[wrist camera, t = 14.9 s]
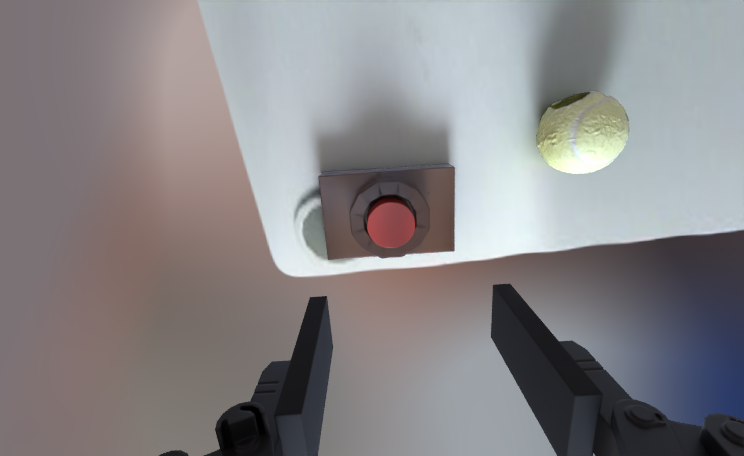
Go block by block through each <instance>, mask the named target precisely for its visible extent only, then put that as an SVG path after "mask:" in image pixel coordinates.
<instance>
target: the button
mask: <svg viewBox="0 0 744 456" xmlns="http://www.w3.org/2000/svg"><path fill="white" fill-rule="evenodd" d="M367 230H368V233H369V236H370V237H371V239H372V240H373V241H374V242H375V243H376V244H378V245H380V246H382V247H385V248H396V247H399V246H402V245H404V244H405V243H407V242H408V241H409V240H410V238H411V237H412V235H413V233H414V230H415V219H414V216H413V214H412V211H411V209H410V208H409V206H408V205H407V204H406V203H405V202H404V201H402V200H400V199H397V198H392V197H391V198H384V199H381V200H379V201H377V202H376V203H375V204H373V206H372V207H371V208H370V210H369V212H368V215H367Z"/></svg>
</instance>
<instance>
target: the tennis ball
mask: <svg viewBox="0 0 744 456" xmlns="http://www.w3.org/2000/svg"><path fill="white" fill-rule="evenodd" d="M628 134H629V120H628V116H627V114H626V112H625V109H624V107H623V106H622V105H621V104H620V103H619V102H618V101H617V100H616V99H615V98H613V97H611V96H606V95H604V94H603V93H601V92H599V91H589V92H584V93H580V94H575V95H573V96H570V97H567V98H565V99H562V100H559V101H556V102H554V103H553V104H551V106H550V107H548V109H547V111H546V112H545V114H544V115H543V116H542V118H541V121H540V124H539V127H538V131H537V135H536V137H537V138H536V143H537V147H538V149H539V152H540V154H541V155H542V157H543V158H544V159H545V161H546V162H547V163H548V164H549V165H550V166H552V167H554V168H556V169H558V170H560V171H563V172H567V173H574V174H578V173H591V172H594V171H597V170H599V169H602V168H604V167H605V166H607V165H609V164H610V163H611V162H612V161H613V160H615V159H616V157H617V155H618V154H619V153H620V152H621V151H622V150H623V148H624V146H625V144H626V142H627V139H628Z"/></svg>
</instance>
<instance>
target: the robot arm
mask: <svg viewBox="0 0 744 456" xmlns="http://www.w3.org/2000/svg"><path fill="white" fill-rule="evenodd" d="M491 338H492V340H493V341H494V343H495V345H496V347H497V349H498V350H499V352H500V354H501V355H502V357H503V359H504V361H505V363H506V365H507V366H508V368H509V370H510V372H511V374H512V375H513V377H514V379H515V381H516V383H517V384H518V386H519V388H520V390H521V391H522V393H523V395H524V397H525V399H526V400H527V402H528V404H529V406H530V407H531V409H532V411H533V413H534V415H535V417H536V418H537V420H538V422H539V424H540V425H541V427H542V429H543V431H544V433H545V434H546V436H547V438H548V440H549V442H550V443H551V445H552V447H553V449H554V451H555V452H556V454H557V456H593V453H594V454H595V456H744V420H741V419H739V418H736V417H733V416H730V415H723V414H710V415H708V416H707V417H706V418H704V422H703V425H702V426H696V425H690V424H685V423H679V422H674V421H670V420H668V419H667V417H666V416H665V415H664V414H663V413H661V412H660V411H659V410H658V409H656V408H655V407H652V406H651V405H649V404H647V403H644V402H641V401H638V400H633V399H632V398H631V397H630V396H629V395H628V394H627V393H626V392H625V391H624V389H623V388H622V387H621V386H620V385H619V384H618V383H617V382H616V381H615V380H614V379H613V378H612V377H611V376H610V375H609V373H608V372H607V371H606V370H604V369H603V367H602V366H601V365H600V364H599V363H598V362H597V361H596V360H595V358H594V357H593V356H592V355H591V354H590V353H589V352H588V351H587V350H586V349H585V348H583V347H582V346H580V345H578V344H577V343H575V342H573V341H558V340H557V339H556V338H555V336H554V335H553V334H552V333H551V332H550V330H549V329H548V328H547V327H546V326H545V325H544V323H543V322H542V321H541V320H540V319H539V318H538V316H537V315H536V314H535V313H534V312H533V310H532V309H531V308H530V307H529V306H528V304H527V303H526V302H525V301H524V300H523V299H522V297H521V296H520V295H519V294H518V293H517V291H516V290H515V289H514V288H513V287H512V285H510V284H499V285H493V301H492V324H491ZM332 350H333V344H332V335H331V326H330V319H329V311H328V301H327V296H322V297H310V299H309V303H308V306H307V309H306V312H305V316H304V319H303V322H302V325H301V329H300V332H299V335H298V339H297V342H296V345H295V348H294V352H293V355H292V358H291V360H290V361H277V362H276V361H275V362H271V363H270V364H269V365H268V366H267V368H265V370H264V371H263V372H262V374H261V377H260V379H259V382H258V385H257V386H256V389H255V392H254V394H253V396H252V399H251V401H250V402H244V403H240V404H237V405H236V406H233V407H231V408H230V409H228V411H226V412H225V413H223V414H222V416H221V417H220V419H219V420H218V421H217V424H216V428H215V431H216V435H217V438H218V442H219V446H220V449H219V450H217V451H215V452H212V453H210V454H207V455H204V456H318V450H319V443H320V435H321V428H322V421H323V414H324V407H325V400H326V393H327V386H328V379H329V372H330V364H331V358H332ZM159 456H188V454H187V453H185V452H183V451H170V452H166V453H163V454H161V455H159Z"/></svg>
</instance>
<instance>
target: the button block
mask: <svg viewBox="0 0 744 456" xmlns="http://www.w3.org/2000/svg"><path fill="white" fill-rule="evenodd" d="M318 178H319V186H320V195H321V204H322V212H323V221H324V230H325V238H326V247H327V255H328V260H334V259H349V258H363V257H377V256H378V257H380V258H395V257H402V256H405V255H406V254H421V253H435V252H449V251H454V207H455V167H454V166H452V165H451V164H449V163H448V164H434V165H420V166H406V167H392V168H377V169H363V170H349V171H335V172H322V173H321V174H320V175H319V177H318ZM391 197H392V198H397V199H400V200H402V201H404V202H405V203H406V204H407V205H408V206H409V208H410V209H411V211H412V214H413V216H414V219H415V230H414V233H413V235H412V237H411V238H410V240H409V241H408V242H407V243H405V244H404V245H402V246H399V247H396V248H385V247H382V246H380V245H378V244H376V243H375V242H374V241H373V240H372V239H371V237H370V236H369V233H368V230H367V215H368V212H369V210H370V208H371V207H372V206H373V204H375V203H376V202H377V201H379V200H381V199H384V198H391Z"/></svg>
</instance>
